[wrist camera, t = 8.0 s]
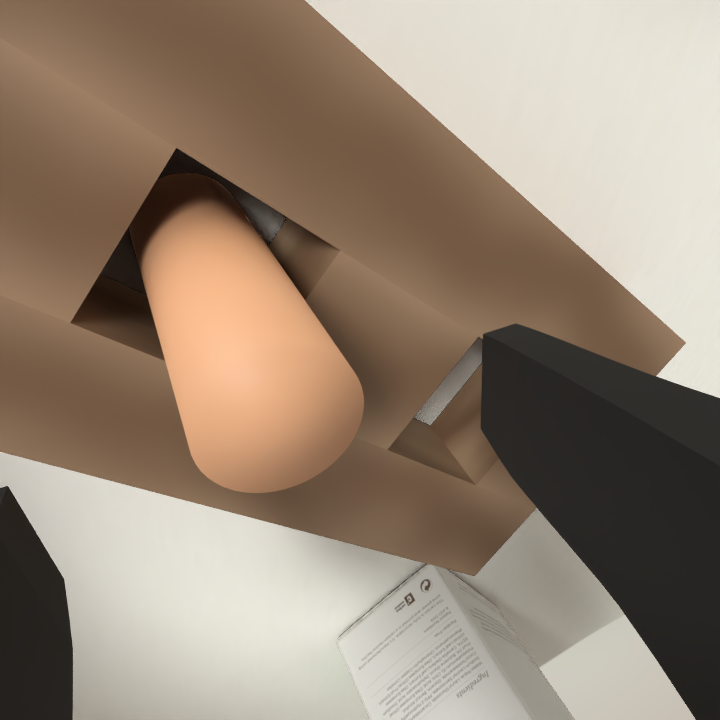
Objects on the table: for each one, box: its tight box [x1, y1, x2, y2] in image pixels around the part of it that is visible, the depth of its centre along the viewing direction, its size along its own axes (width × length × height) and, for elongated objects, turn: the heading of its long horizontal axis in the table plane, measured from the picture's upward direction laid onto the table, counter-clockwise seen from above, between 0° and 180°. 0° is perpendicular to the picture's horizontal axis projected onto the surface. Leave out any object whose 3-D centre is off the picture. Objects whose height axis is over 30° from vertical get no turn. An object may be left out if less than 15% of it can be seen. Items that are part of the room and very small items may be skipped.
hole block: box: [0, 0, 686, 576], centre depth 19 cm, size 12×22×4 cm, turn 51°
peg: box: [130, 173, 364, 493], centre depth 14 cm, size 3×3×9 cm
